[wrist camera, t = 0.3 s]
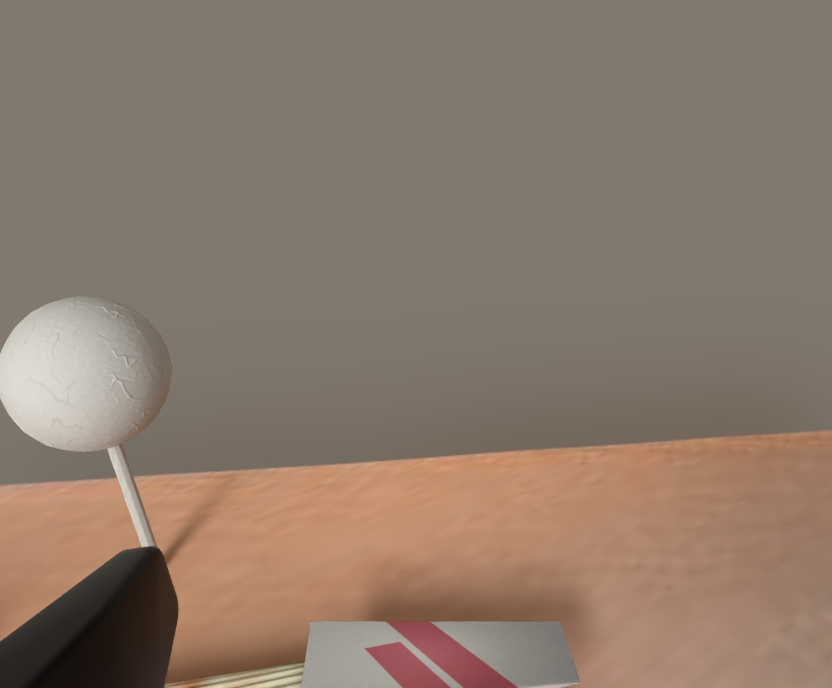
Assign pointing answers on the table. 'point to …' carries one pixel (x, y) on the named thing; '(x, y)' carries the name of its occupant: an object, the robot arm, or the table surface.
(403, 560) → the table surface
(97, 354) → the lollipop
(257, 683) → the cricket bat
